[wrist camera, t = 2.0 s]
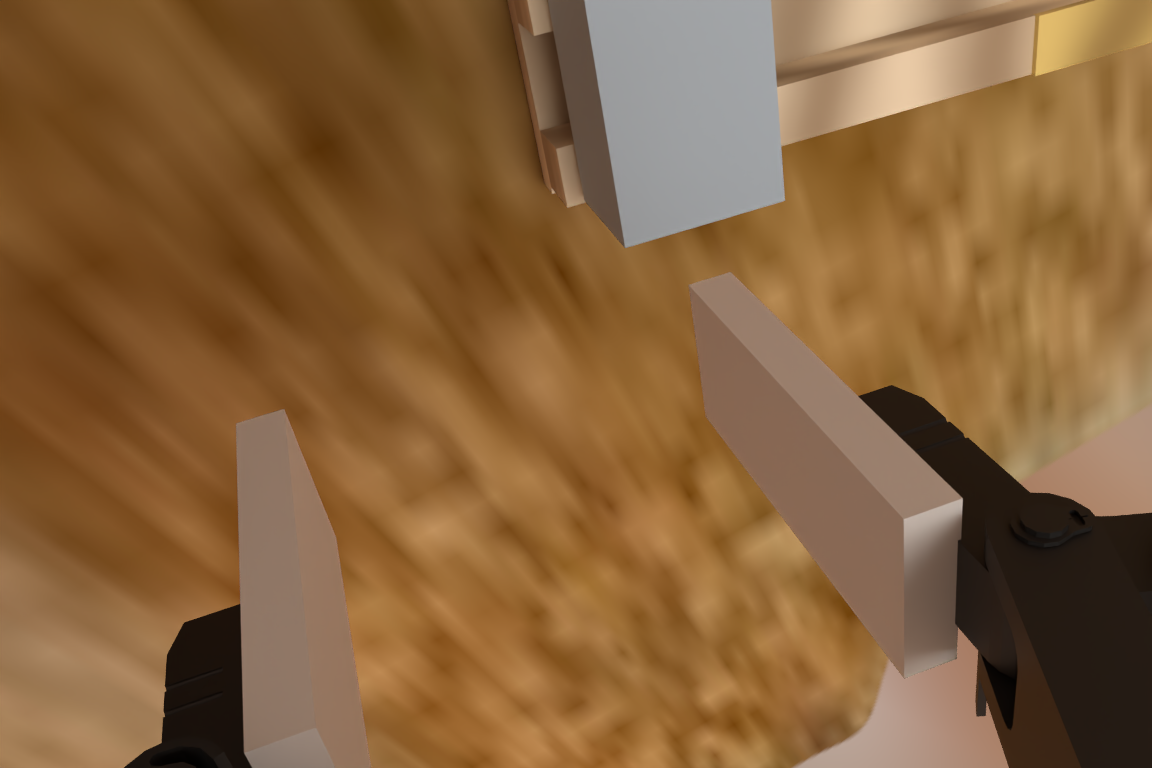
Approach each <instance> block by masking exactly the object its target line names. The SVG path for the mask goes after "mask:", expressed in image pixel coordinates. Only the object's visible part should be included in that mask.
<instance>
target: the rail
mask: <svg viewBox="0 0 1152 768" xmlns="http://www.w3.org/2000/svg"><path fill="white" fill-rule="evenodd" d="M507 1H508V6H509V11H510V16H511V21H512V26H513V31H514V36H515V41H516V45H517V50H518V55H519V60H520V65H521V70H522V75H523V80H524V85H525V89H526V94H527V99H528V104H529V109H530V114H531V119H532V124H533V129H534V133H535V138H536V143H537V148H538V153H539V158H540V163H541V168H542V173H543V177H544V182H545V185H546V186H547V188H548V189H549V190H550V191H551V193H552V194H554V193H556V194H557V195H558V196H559V198H560V199H561V200H562V201H563V203H564V204H565V205H566V206H567V208H568V207H572V206H575V205H579V204H582V203H586V202H585V200H584V195H583V189H582V184H581V179H580V173H579V168H578V162H577V157H576V151H575V146H574V141H573V135H572V130H571V124H570V119H569V113H568V108H567V102H566V97H565V92H564V86H563V81H562V75H561V70H560V64H559V59H558V53H557V48H556V43H555V37H554V32H553V26H552V21H551V15H550V10H549V4H548V0H507ZM771 8H772V22H773V36H774V51H775V65H776V80H777V94H778V108H779V123H780V137H781V146H784V145H787V144H791V143H794V142H798V141H801V140H805V139H808V138H811V137H815V136H818V135H822V134H825V133H829V132H832V131H836V130H839V129H843V128H846V127H850V126H853V125H857V124H860V123H864V122H867V121H871V120H874V119H877V118H881V117H884V116H888V115H891V114H895V113H898V112H902V111H905V110H909V109H912V108H916V107H919V106H923V105H926V104H930V103H933V102H937V101H940V100H944V99H947V98H950V97H954V96H957V95H961V94H964V93H968V92H971V91H975V90H978V89H982V88H985V87H989V86H992V85H996V84H999V83H1003V82H1006V81H1010V80H1013V79H1017V78H1020V77H1023V76H1027V75H1030V74H1031V75H1034V76H1037V75H1041V74H1044V73H1048V72H1051V71H1055V70H1058V69H1062V68H1065V67H1069V66H1072V65H1076V64H1079V63H1083V62H1086V61H1089V60H1093V59H1096V58H1100V57H1103V56H1107V55H1110V54H1114V53H1117V52H1121V51H1124V50H1128V49H1131V48H1135V47H1138V46H1142V45H1145V44H1148V43H1152V0H771Z"/></svg>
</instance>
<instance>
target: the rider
mask: <svg viewBox="0 0 1152 768" xmlns="http://www.w3.org/2000/svg"><path fill="white" fill-rule="evenodd" d="M548 4H549V10H550V15H551V21H552V26H553V32H554V37H555V43H556V48H557V53H558V59H559V64H560V70H561V75H562V81H563V86H564V92H565V97H566V102H567V108H568V113H569V119H570V124H571V130H572V135H573V141H574V146H575V151H576V157H577V162H578V168H579V173H580V179H581V184H582V189H583V195H584V200H585V202H586V203H587V204H588V205H589V206H590V208H591V209H592V210H593V211H594V212H595V213H596V215H597V216H598V217H599V218H600V219H601V220H602V222H603V223H604V224H605V225H606V226H607V227H608V229H609V230H610V231H611V232H612V233H613V234H614V236H615V237H616V238H617V239H618V240H619V241H620V243H621V244H622V245H623V246H624V247H625V248H627V247H630V246H634V245H637V244H641V243H644V242H647V241H651V240H654V239H657V238H661V237H664V236H668V235H671V234H674V233H678V232H681V231H684V230H688V229H691V228H695V227H698V226H701V225H705V224H708V223H711V222H715V221H718V220H722V219H725V218H728V217H732V216H735V215H738V214H742V213H745V212H749V211H752V210H755V209H759V208H762V207H765V206H769V205H772V204H776V203H779V202H782V201H785V195H784V180H783V166H782V152H781V137H780V123H779V108H778V94H777V80H776V65H775V51H774V36H773V22H772V8H771V0H548Z"/></svg>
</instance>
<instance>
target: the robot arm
mask: <svg viewBox="0 0 1152 768" xmlns="http://www.w3.org/2000/svg"><path fill="white" fill-rule="evenodd" d="M689 291H690V299H691V307H692V314H693V322H694V329H695V337H696V345H697V352H698V360H699V367H700V375H701V383H702V390H703V398H704V406H705V413H706V417H707V419H708V420H709V421H710V423H711V424H712V425H713V427H714V428H715V429H716V431H717V432H718V433H719V435H720V436H721V437H722V439H723V440H724V441H725V443H726V444H727V445H728V446H729V448H730V449H731V450H732V452H733V453H734V454H735V456H736V457H737V458H738V460H739V461H740V462H741V464H742V465H743V466H744V468H745V469H746V470H747V472H748V473H749V474H750V476H751V477H752V478H753V480H754V481H755V482H756V483H757V485H758V486H759V487H760V489H761V490H762V491H763V493H764V494H765V495H766V497H767V498H768V499H769V501H770V502H771V503H772V505H773V506H774V507H775V509H776V510H777V511H778V513H779V514H780V515H781V516H782V518H783V519H784V520H785V522H786V523H787V524H788V526H789V527H790V528H791V530H792V531H793V532H794V534H795V535H796V536H797V538H798V539H799V540H800V542H801V543H802V544H803V546H804V547H805V548H806V550H807V551H808V552H809V553H810V555H811V556H812V557H813V559H814V560H815V561H816V563H817V564H818V565H819V567H820V568H821V569H822V571H823V572H824V573H825V575H826V576H827V577H828V579H829V580H830V581H831V583H832V584H833V585H834V587H835V588H836V589H837V590H838V592H839V593H840V594H841V596H842V597H843V598H844V600H845V601H846V602H847V604H848V605H849V606H850V608H851V609H852V610H853V612H854V613H855V614H856V616H857V617H858V618H859V620H860V621H861V622H862V624H863V625H864V626H865V627H866V629H867V630H868V631H869V633H870V634H871V635H872V637H873V638H874V639H875V641H876V642H877V643H878V645H879V646H880V647H881V649H882V650H883V651H884V653H885V654H886V655H887V657H888V658H889V659H890V661H891V662H892V663H893V664H894V666H895V667H896V668H897V670H898V671H899V672H900V674H901V675H902V676H903V678H904V679H905V678H907V677H910V676H912V675H915V674H918V673H920V672H923V671H926V670H928V669H931V668H934V667H936V666H938V665H942V664H944V663H946V662H949V661H952V660H954V659H957V636H958V628H959V629H960V630H961V631H962V632H963V633H964V635H965V636H966V637H967V638H968V639H969V640H970V641H971V643H972V644H973V645H974V646H975V647H976V648H977V649H978V666H977V685H976V714H977V716H985V715H986V701H987V703H988V706H989V709H990V712H991V715H992V718H993V721H994V724H995V727H996V730H997V733H998V736H999V739H1000V742H1001V745H1002V748H1003V751H1004V754H1005V757H1006V760H1007V763H1008V766H1009V768H1152V513H1144V514H1132V515H1121V516H1102V517H1101V516H1095V515H1094V514H1093V513H1092V512H1091V511H1090V510H1089V509H1088V508H1086V507H1084V506H1082V505H1081V504H1079V503H1077V502H1075V501H1074V500H1072V499H1069V498H1065V497H1061V496H1057V495H1054V494H1050V493H1030V492H1029V491H1028V490H1026V489H1025V488H1024V487H1023V486H1022V485H1021V484H1020V483H1019V482H1017V481H1016V480H1015V479H1014V478H1013V477H1012V476H1011V475H1010V474H1008V473H1007V472H1006V471H1005V470H1004V469H1003V468H1002V467H1001V466H999V465H998V464H997V463H996V462H995V461H994V460H993V459H992V458H990V457H989V456H988V455H987V454H986V453H985V452H984V451H982V450H981V449H980V448H979V447H978V446H977V445H976V444H975V443H973V442H972V441H971V440H970V439H969V438H965V437H964V434H963V433H962V432H961V431H960V430H959V429H958V428H957V427H955V426H954V425H953V424H952V423H951V422H947V421H946V418H945V417H944V416H943V415H942V414H941V413H940V412H938V411H937V410H936V409H935V408H934V407H933V406H932V405H931V404H929V403H928V402H927V401H926V400H925V399H924V398H922V397H919V396H917V395H914V394H912V393H909V392H907V391H905V390H902V389H900V388H897V387H895V386H892V385H891V386H888V387H885V388H882V389H879V390H876V391H873V392H870V393H867V394H864V395H861V396H857V395H856V394H855V393H854V392H853V391H852V390H851V389H850V388H849V387H848V386H847V385H846V384H845V383H844V382H843V381H842V380H841V379H840V378H839V377H838V376H837V375H836V374H835V373H834V372H833V371H832V370H830V369H829V368H828V367H827V366H826V365H825V364H824V363H823V362H822V361H821V360H820V359H819V358H818V357H817V356H816V355H815V354H814V353H813V352H812V351H811V350H810V349H809V348H808V347H807V346H806V345H805V344H804V343H803V342H802V341H801V340H800V339H799V338H798V337H797V336H796V335H795V334H794V333H793V332H791V331H790V330H789V329H788V328H787V327H786V326H785V325H784V324H783V323H782V322H781V321H780V320H779V319H778V318H777V317H776V316H775V315H774V314H773V313H772V312H771V311H770V310H769V309H768V308H767V307H766V306H765V305H764V304H763V303H762V302H761V301H760V300H759V299H758V298H757V297H756V296H755V295H754V294H752V293H751V292H750V291H749V290H748V289H747V288H746V287H745V286H744V285H743V284H742V283H741V282H740V281H739V280H738V279H737V278H736V277H735V276H734V275H733V274H732V273H731V272H729V273H726V274H723V275H720V276H716V277H713V278H710V279H706V280H703V281H700V282H697V283H693V284H690V285H689ZM236 444H237V485H238V526H239V567H240V604H239V605H236V606H233V607H230V608H227V609H224V610H221V611H218V612H215V613H212V614H209V615H206V616H203V617H200V618H197V619H194V620H191V621H188V622H185V623H184V624H183V626H182V628H181V630H180V631H179V633H178V635H177V637H176V639H175V641H174V643H173V645H172V647H171V648H170V650H169V652H168V654H167V663H166V680H165V687H166V692H165V696H164V713H165V717H163V729H162V743H161V744H159V745H157V746H155V747H152V748H150V749H148V750H146V751H144V752H143V753H142V754H141V755H139V756H138V757H137V758H135V759H134V760H133V761H132V762H130V763H129V764H128V765H127V766H125V767H124V768H371V764H370V757H369V751H368V744H367V738H366V731H365V724H364V718H363V711H362V705H361V698H360V692H359V685H358V678H357V672H356V665H355V659H354V652H353V645H352V639H351V632H350V626H349V619H348V613H347V606H346V599H345V593H344V586H343V580H342V573H341V567H340V560H339V553H338V547H337V540H336V536H335V534H334V531H333V529H332V526H331V524H330V521H329V519H328V516H327V514H326V511H325V509H324V507H323V504H322V502H321V499H320V497H319V494H318V492H317V489H316V487H315V484H314V482H313V479H312V477H311V474H310V472H309V469H308V467H307V465H306V462H305V460H304V457H303V455H302V452H301V450H300V447H299V445H298V442H297V440H296V437H295V435H294V432H293V430H292V427H291V425H290V422H289V420H288V418H287V415H286V413H285V410H284V409H282V410H278V411H275V412H272V413H269V414H265V415H262V416H259V417H256V418H252V419H249V420H246V421H243V422H239V423H236Z"/></svg>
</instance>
